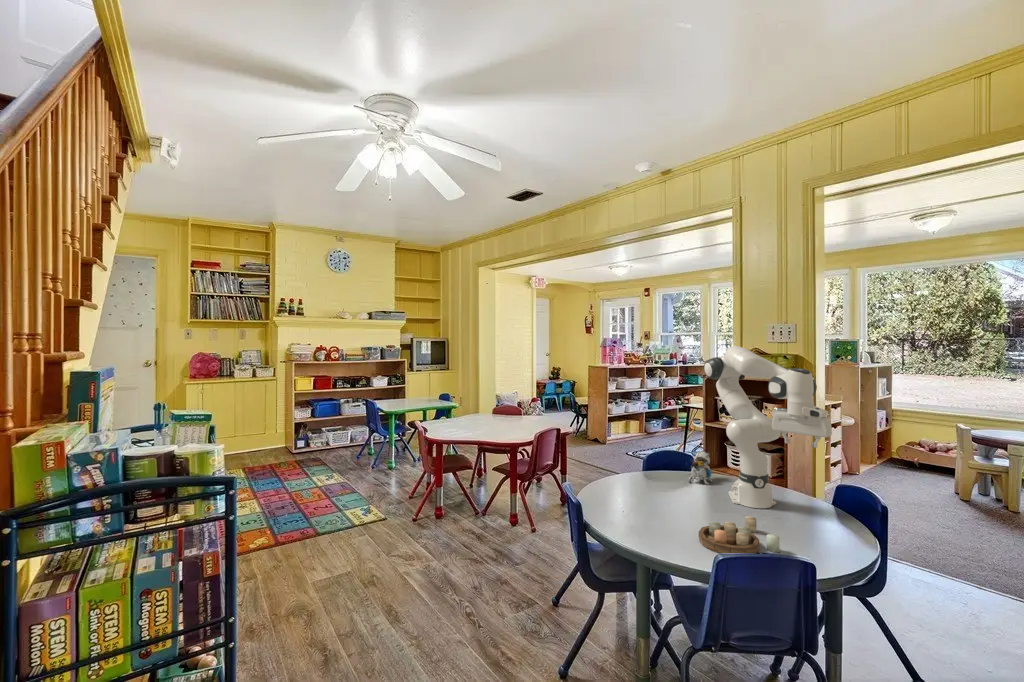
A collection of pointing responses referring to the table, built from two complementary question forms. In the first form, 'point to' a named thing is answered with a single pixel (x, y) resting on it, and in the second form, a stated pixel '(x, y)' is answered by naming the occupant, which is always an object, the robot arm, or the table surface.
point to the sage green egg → (773, 543)
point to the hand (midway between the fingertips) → (800, 445)
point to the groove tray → (729, 538)
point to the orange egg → (720, 536)
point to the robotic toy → (701, 467)
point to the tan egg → (750, 524)
